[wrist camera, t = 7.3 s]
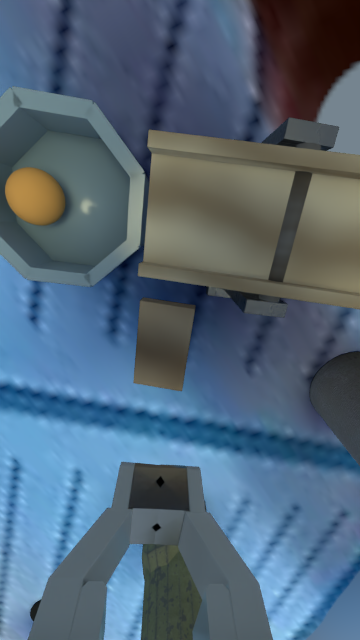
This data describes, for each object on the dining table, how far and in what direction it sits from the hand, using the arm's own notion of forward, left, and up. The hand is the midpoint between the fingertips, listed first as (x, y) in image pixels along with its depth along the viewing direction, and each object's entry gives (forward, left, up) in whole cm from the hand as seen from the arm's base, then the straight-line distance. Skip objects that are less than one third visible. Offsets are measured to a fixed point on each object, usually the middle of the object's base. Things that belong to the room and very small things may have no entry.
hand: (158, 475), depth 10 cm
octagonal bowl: (-10, -9, -18) cm, 22 cm away
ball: (-10, -11, -15) cm, 21 cm away
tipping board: (-5, +7, -10) cm, 14 cm away
